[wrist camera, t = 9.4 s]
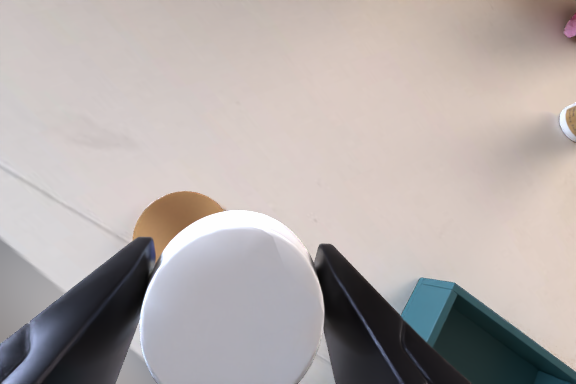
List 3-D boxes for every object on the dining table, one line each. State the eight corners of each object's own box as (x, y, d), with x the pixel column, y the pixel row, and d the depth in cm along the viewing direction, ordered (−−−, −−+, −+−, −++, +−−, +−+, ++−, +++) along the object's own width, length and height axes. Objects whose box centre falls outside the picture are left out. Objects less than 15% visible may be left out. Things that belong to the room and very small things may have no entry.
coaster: (192, 304, 21) (191, 306, 20) (113, 249, 21) (110, 249, 20) (249, 227, 23) (249, 226, 22) (177, 175, 22) (176, 173, 22)
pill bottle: (167, 254, 15) (54, 261, 6) (258, 209, 16) (288, 155, 7) (211, 349, 15) (167, 531, 5) (301, 295, 16) (396, 360, 6)
